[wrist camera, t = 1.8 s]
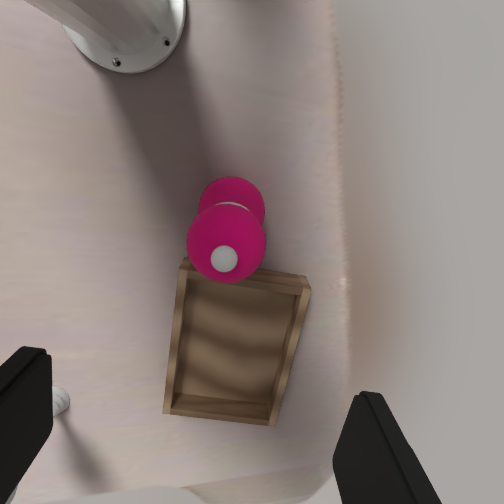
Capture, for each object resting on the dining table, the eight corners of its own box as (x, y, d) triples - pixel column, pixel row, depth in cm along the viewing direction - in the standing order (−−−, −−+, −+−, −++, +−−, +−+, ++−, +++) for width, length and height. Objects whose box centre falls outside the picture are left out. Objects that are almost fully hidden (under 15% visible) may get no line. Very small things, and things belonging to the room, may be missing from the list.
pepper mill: (274, 201, 40) (302, 260, 21) (235, 242, 42) (228, 332, 23) (230, 159, 38) (217, 183, 19) (191, 204, 40) (143, 267, 21)
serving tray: (184, 257, 42) (178, 269, 38) (305, 276, 43) (311, 289, 40) (168, 392, 49) (162, 413, 45) (272, 404, 50) (275, 426, 47)
